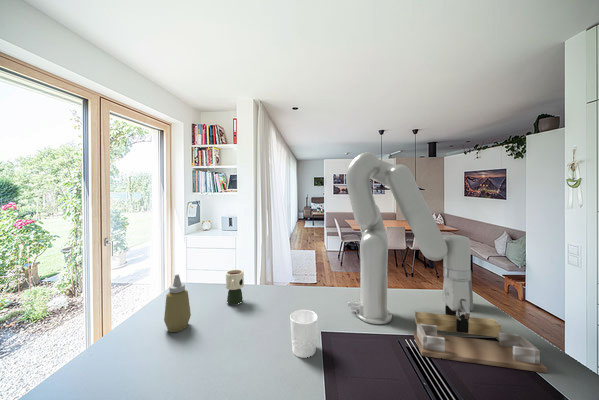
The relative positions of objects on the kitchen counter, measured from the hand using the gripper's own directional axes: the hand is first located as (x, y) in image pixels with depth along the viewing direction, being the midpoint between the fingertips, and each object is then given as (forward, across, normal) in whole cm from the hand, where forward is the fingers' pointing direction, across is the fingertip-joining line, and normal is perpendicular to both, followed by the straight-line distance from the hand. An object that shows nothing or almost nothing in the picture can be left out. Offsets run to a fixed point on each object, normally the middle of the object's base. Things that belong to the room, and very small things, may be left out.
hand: (456, 324), depth 81 cm
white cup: (+2, +22, -47) cm, 52 cm away
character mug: (+1, -1, -81) cm, 81 cm away
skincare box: (+2, -19, +8) cm, 21 cm away
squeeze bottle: (+1, +20, -91) cm, 93 cm away
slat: (+2, 0, 0) cm, 2 cm away
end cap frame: (+2, +12, 0) cm, 12 cm away
